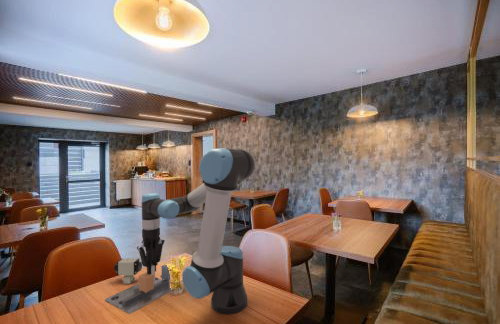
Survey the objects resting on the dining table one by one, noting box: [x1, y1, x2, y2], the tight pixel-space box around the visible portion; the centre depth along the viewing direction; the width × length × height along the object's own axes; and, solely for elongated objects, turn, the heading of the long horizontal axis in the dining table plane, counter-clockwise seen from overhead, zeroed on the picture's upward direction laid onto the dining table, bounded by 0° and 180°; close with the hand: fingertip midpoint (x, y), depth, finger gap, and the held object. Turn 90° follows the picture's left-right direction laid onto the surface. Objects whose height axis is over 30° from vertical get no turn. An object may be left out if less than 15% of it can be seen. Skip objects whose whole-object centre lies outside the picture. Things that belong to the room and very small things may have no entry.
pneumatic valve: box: [113, 257, 143, 285], centre depth 122 cm, size 6×12×12 cm, turn 89°
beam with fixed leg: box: [122, 264, 171, 307], centre depth 110 cm, size 6×22×8 cm, turn 148°
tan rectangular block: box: [138, 272, 154, 293], centre depth 109 cm, size 6×4×8 cm, turn 58°
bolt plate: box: [104, 276, 172, 315], centre depth 111 cm, size 18×24×1 cm
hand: (151, 279), depth 111 cm, fingers closed
